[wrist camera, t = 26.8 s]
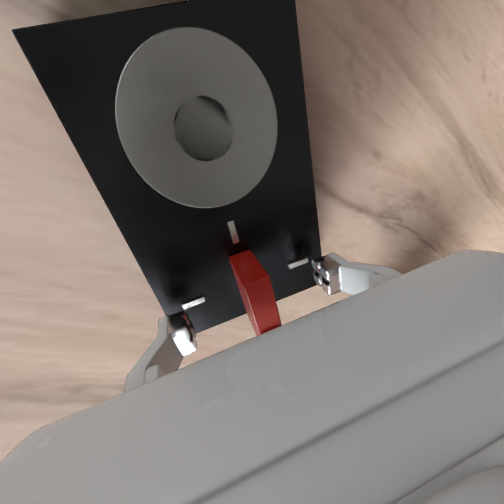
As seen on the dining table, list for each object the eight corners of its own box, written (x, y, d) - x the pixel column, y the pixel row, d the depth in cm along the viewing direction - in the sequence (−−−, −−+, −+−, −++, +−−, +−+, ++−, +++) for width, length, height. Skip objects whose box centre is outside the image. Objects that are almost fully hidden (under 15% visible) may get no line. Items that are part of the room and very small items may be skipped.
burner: (81, 50, 9) (76, 44, 8) (256, 18, 10) (261, 10, 10) (159, 223, 12) (158, 226, 12) (284, 184, 13) (288, 185, 13)
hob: (49, 57, 11) (7, 27, 8) (268, 16, 13) (295, -20, 10) (187, 329, 19) (189, 360, 16) (307, 281, 21) (327, 302, 18)
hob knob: (228, 256, 14) (244, 289, 11) (249, 248, 14) (272, 278, 11) (246, 311, 16) (264, 352, 13) (264, 303, 16) (287, 342, 13)
